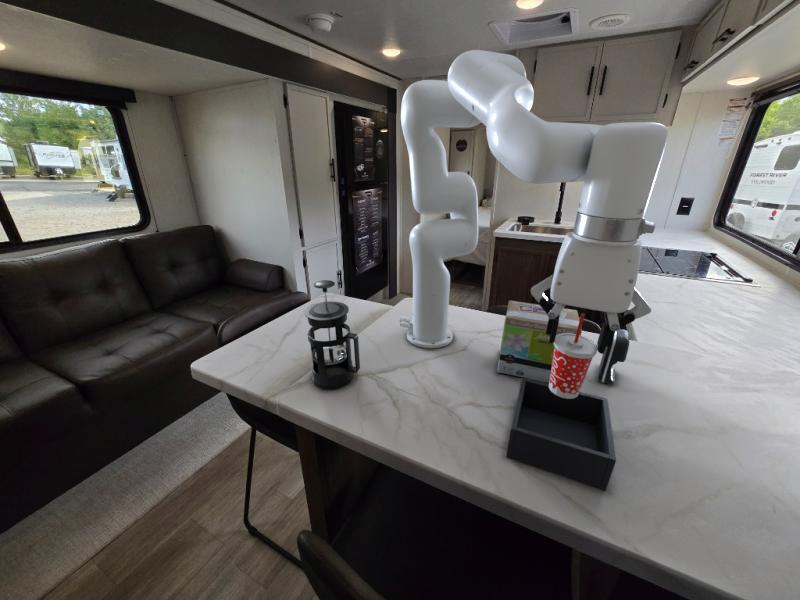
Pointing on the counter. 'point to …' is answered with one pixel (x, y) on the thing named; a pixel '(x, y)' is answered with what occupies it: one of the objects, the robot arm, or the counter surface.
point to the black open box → (563, 434)
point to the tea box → (531, 340)
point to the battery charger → (613, 356)
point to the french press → (331, 342)
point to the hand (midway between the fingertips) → (575, 342)
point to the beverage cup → (570, 362)
